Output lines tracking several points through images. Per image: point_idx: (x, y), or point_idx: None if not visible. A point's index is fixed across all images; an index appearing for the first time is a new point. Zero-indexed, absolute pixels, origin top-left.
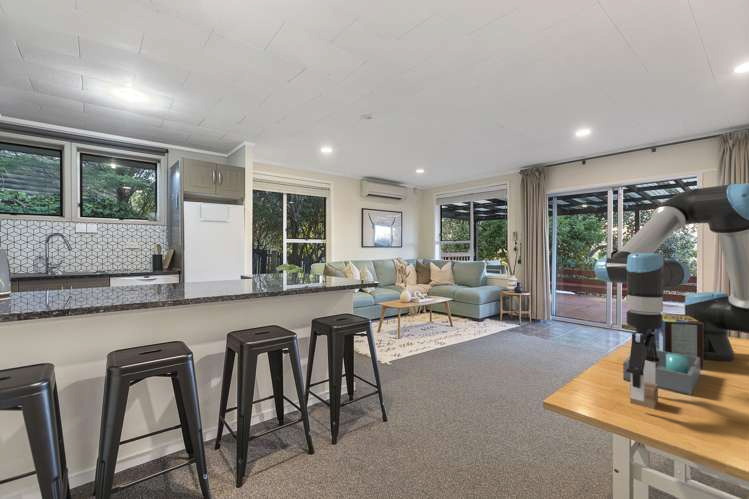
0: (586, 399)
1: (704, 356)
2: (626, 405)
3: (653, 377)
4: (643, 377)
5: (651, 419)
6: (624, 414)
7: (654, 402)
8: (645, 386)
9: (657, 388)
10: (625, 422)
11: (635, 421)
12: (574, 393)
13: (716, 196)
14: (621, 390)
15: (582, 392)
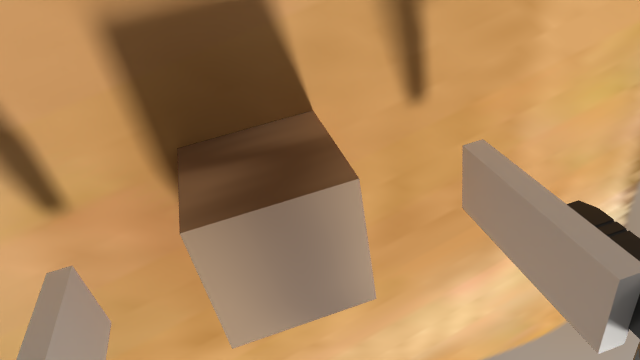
0: (459, 300)
1: None
2: (387, 202)
3: (59, 334)
4: (627, 254)
5: (479, 45)
6: (510, 146)
7: (302, 134)
8: (327, 244)
9: (202, 208)
10: (600, 95)
11: (560, 77)
12: (432, 350)
13: None
14: (190, 327)
15: (394, 350)
